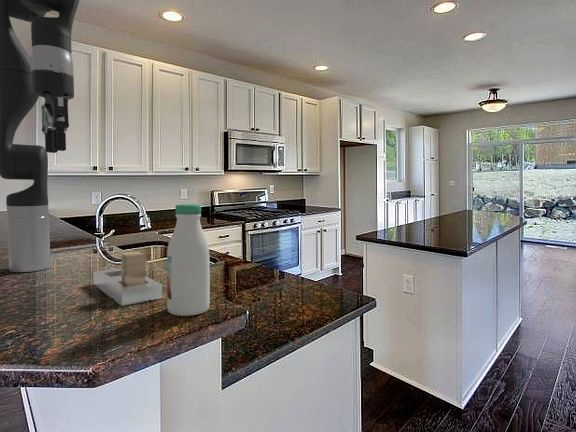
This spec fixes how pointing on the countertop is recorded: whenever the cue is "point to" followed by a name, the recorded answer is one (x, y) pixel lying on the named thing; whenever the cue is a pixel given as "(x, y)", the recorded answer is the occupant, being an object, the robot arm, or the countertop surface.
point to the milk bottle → (188, 264)
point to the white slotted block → (126, 288)
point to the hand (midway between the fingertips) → (55, 151)
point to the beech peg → (133, 269)
